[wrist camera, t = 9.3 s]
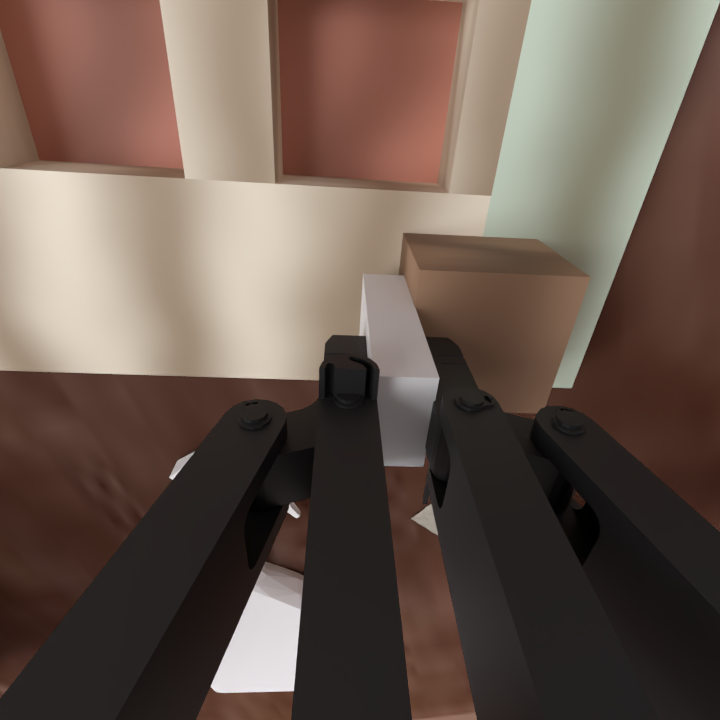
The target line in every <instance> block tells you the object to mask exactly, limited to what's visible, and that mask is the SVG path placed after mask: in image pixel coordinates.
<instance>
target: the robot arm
mask: <svg viewBox="0 0 720 720" xmlns="http://www.w3.org/2000/svg"><path fill="white" fill-rule="evenodd" d="M426 453H427V457H428V461H429V469H428V474H427V479H426V485H425V490H424V495H423V504H427V503H428V498H429V495H430V499H431V504H432V509H433V514H434V518H435V523H436V528H437V532H438V537H439V542H440V547H441V551H442V556H443V561H444V565H445V570H446V575H447V580H448V584H449V589H450V594H451V598H452V603H453V608H454V613H455V617H456V622H457V627H458V631H459V636H460V641H461V646H462V650H463V655H464V660H465V664H466V669H467V674H468V679H469V683H470V688H471V693H472V697H473V702H474V707H475V712H476V716H477V720H720V532H719V531H718V530H717V529H716V528H714V527H713V526H712V525H711V524H710V523H709V522H708V521H707V520H705V519H704V518H703V517H702V516H701V515H700V514H699V513H697V512H696V511H695V510H694V509H693V508H692V507H691V506H690V505H688V504H687V503H686V502H685V501H684V500H683V499H682V498H680V497H679V496H678V495H677V494H676V493H675V492H674V491H672V490H671V489H670V488H669V487H668V486H667V485H666V484H665V483H663V482H662V481H661V480H660V479H659V478H658V477H657V476H655V475H654V474H653V473H652V472H651V471H650V470H649V469H648V468H646V467H645V466H644V465H643V464H642V463H641V462H640V461H638V460H637V459H636V458H635V457H634V456H633V455H632V454H631V453H629V452H628V451H627V450H626V449H625V448H624V447H623V446H621V445H620V444H619V443H618V442H617V441H616V440H615V439H613V438H612V437H611V436H610V435H609V434H608V433H607V432H606V431H604V430H603V429H602V428H601V427H600V426H599V425H598V424H596V423H595V422H594V421H593V420H592V419H590V418H589V417H587V416H586V415H584V414H583V413H581V412H578V411H576V410H574V409H571V408H568V407H567V408H566V407H562V406H547V407H544V408H541V409H540V410H539V411H538V413H537V414H536V417H535V420H533V419H528V418H524V417H520V416H515V415H512V414H508V413H505V412H503V410H502V408H501V406H500V404H499V403H498V401H497V400H496V399H495V398H494V397H493V396H492V395H490V394H489V393H487V392H485V391H483V390H480V389H479V388H478V386H477V384H476V382H475V380H474V378H473V376H472V373H471V371H470V369H469V367H468V366H467V363H466V360H465V358H463V354H462V352H461V350H460V348H459V346H458V345H457V344H455V343H454V342H453V341H452V340H451V339H449V338H444V337H425V334H424V331H423V328H422V326H421V323H420V320H419V317H418V314H417V311H416V308H415V306H414V303H413V301H412V298H411V295H410V292H409V289H408V286H407V283H406V280H405V277H404V275H384V274H363V283H362V299H361V315H360V332H359V336H353V335H332V336H331V337H330V338H329V339H328V340H327V342H326V343H325V351H324V361H323V362H322V363H321V365H320V367H319V398H318V399H317V401H316V402H314V403H313V404H312V405H310V406H308V407H306V408H304V409H301V410H297V411H293V412H288V413H285V411H284V409H283V408H282V407H281V406H280V405H278V404H277V403H275V402H271V401H268V400H256V399H255V400H250V401H244V402H241V403H239V404H237V405H235V406H233V407H232V408H230V409H229V410H228V411H227V412H226V413H225V414H224V415H223V417H222V418H221V419H220V420H219V422H218V423H217V424H216V426H215V427H214V428H213V429H212V431H211V432H210V433H209V434H208V436H207V437H206V438H205V439H204V441H203V442H202V443H201V445H200V446H199V447H198V448H197V450H196V451H195V452H194V453H193V455H192V456H191V457H190V459H189V460H188V461H187V462H186V464H185V465H184V466H183V467H182V469H181V470H180V471H179V472H178V474H177V475H176V476H175V478H174V479H173V480H172V481H171V483H170V484H169V485H168V486H167V488H166V489H165V490H164V492H163V493H162V494H161V495H160V497H159V498H158V499H157V500H156V502H155V503H154V504H153V506H152V507H151V508H150V509H149V511H148V512H147V513H146V514H145V516H144V517H143V518H142V519H141V521H140V522H139V523H138V525H137V526H136V527H135V528H134V530H133V531H132V532H131V533H130V535H129V536H128V537H127V539H126V540H125V541H124V542H123V544H122V545H121V546H120V547H119V549H118V550H117V551H116V552H115V554H114V555H113V556H112V558H111V559H110V560H109V561H108V563H107V564H106V565H105V566H104V568H103V569H102V570H101V572H100V573H99V574H98V575H97V577H96V578H95V579H94V580H93V582H92V583H91V584H90V586H89V587H88V588H87V589H86V591H85V592H84V593H83V594H82V596H81V597H80V598H79V599H78V601H77V602H76V603H75V605H74V606H73V607H72V608H71V610H70V611H69V612H68V613H67V615H66V616H65V617H64V619H63V620H62V621H61V622H60V624H59V625H58V626H57V627H56V629H55V630H54V631H53V632H52V634H51V635H50V636H49V638H48V639H47V640H46V641H45V643H44V644H43V645H42V646H41V648H40V649H39V650H38V652H37V653H36V654H35V655H34V657H33V658H32V659H31V660H30V662H29V663H28V664H27V666H26V667H25V668H24V669H23V671H22V672H21V673H20V674H19V676H18V677H17V678H16V679H15V681H14V682H13V683H12V685H11V686H10V687H9V688H8V690H7V691H6V692H5V693H4V695H3V696H2V697H1V699H0V720H196V718H197V716H198V714H199V711H200V709H201V707H202V705H203V702H204V700H205V698H206V696H207V693H208V691H209V689H210V686H211V684H212V682H213V680H214V677H215V675H216V673H217V671H218V668H219V666H220V664H221V661H222V659H223V657H224V655H225V652H226V650H227V648H228V646H229V643H230V641H231V639H232V636H233V634H234V632H235V630H236V627H237V625H238V623H239V621H240V618H241V616H242V614H243V611H244V609H245V607H246V605H247V602H248V600H249V598H250V596H251V593H252V591H253V589H254V586H255V584H256V582H257V580H258V577H259V575H260V573H261V571H262V568H263V566H264V564H265V561H266V559H267V557H268V555H269V552H270V550H271V548H272V546H273V543H274V541H275V539H276V536H277V534H278V532H279V530H280V527H281V525H282V523H283V521H284V518H285V516H286V514H287V511H288V509H289V504H290V503H292V502H296V501H299V500H303V499H307V498H310V509H309V520H308V532H307V544H306V555H305V567H304V579H303V590H302V602H301V613H300V625H299V637H298V648H297V660H296V672H295V683H294V695H293V707H292V718H291V720H412V716H411V707H410V698H409V689H408V679H407V670H406V661H405V652H404V643H403V634H402V624H401V615H400V606H399V597H398V588H397V579H396V570H395V560H394V551H393V542H392V533H391V524H390V515H389V505H388V496H387V487H386V478H385V469H384V466H410V467H423V466H424V460H425V455H426ZM576 491H577V492H578V493H579V494H580V495H581V497H582V498H583V499H584V500H585V501H586V503H585V505H584V506H583V507H581V506H580V505H579V504H578V503H576V501H575V500H574V499H573V496H574V494H575V492H576Z"/></svg>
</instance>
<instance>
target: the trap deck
mask: <svg viewBox="0 0 720 720" xmlns="http://www.w3.org/2000/svg"><path fill="white" fill-rule="evenodd" d="M719 3H720V0H0V370H4V371H36V372H68V373H100V374H132V375H165V376H197V377H229V378H261V379H293V380H319V367H320V365H321V363H322V362H323V361H324V351H325V343H326V342H327V340H328V339H329V338H330V337H331V336H332V335H353V336H359V332H360V315H361V299H362V283H363V274H384V275H399V267H400V257H401V248H402V239H403V233H417V234H438V235H459V236H481V237H502V238H523V239H538V240H539V241H541V242H542V243H543V244H545V245H546V246H548V247H549V248H550V249H552V250H553V251H555V252H556V253H557V254H559V255H560V256H562V257H563V258H564V259H566V260H567V261H569V262H570V263H572V264H573V265H574V266H576V267H577V268H579V269H580V270H581V271H583V272H584V273H586V274H587V275H588V276H590V277H591V278H590V281H589V284H588V287H587V290H586V292H585V295H584V298H583V301H582V304H581V307H580V310H579V312H578V315H577V318H576V321H575V324H574V327H573V330H572V332H571V335H570V338H569V341H568V344H567V347H566V350H565V352H564V355H563V358H562V361H561V364H560V367H559V369H558V372H557V375H556V378H555V381H554V384H553V387H552V388H572V386H573V383H574V381H575V378H576V376H577V373H578V370H579V368H580V365H581V363H582V360H583V357H584V355H585V352H586V350H587V347H588V344H589V342H590V339H591V336H592V334H593V331H594V329H595V326H596V323H597V321H598V318H599V316H600V313H601V310H602V308H603V305H604V303H605V300H606V297H607V295H608V292H609V290H610V287H611V284H612V282H613V279H614V277H615V274H616V271H617V269H618V266H619V264H620V261H621V258H622V256H623V253H624V251H625V248H626V245H627V243H628V240H629V237H630V235H631V232H632V230H633V227H634V224H635V222H636V219H637V217H638V214H639V211H640V209H641V206H642V204H643V201H644V198H645V196H646V193H647V191H648V188H649V185H650V183H651V180H652V178H653V175H654V172H655V170H656V167H657V165H658V162H659V159H660V157H661V154H662V152H663V149H664V146H665V144H666V141H667V139H668V136H669V133H670V131H671V128H672V125H673V123H674V120H675V118H676V115H677V112H678V110H679V107H680V105H681V102H682V99H683V97H684V94H685V92H686V89H687V86H688V84H689V81H690V79H691V76H692V73H693V71H694V68H695V66H696V63H697V60H698V58H699V55H700V53H701V50H702V47H703V45H704V42H705V40H706V37H707V34H708V32H709V29H710V27H711V24H712V21H713V19H714V16H715V13H716V11H717V8H718V6H719Z"/></svg>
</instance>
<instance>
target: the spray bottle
mask: <svg viewBox="0 0 720 720" xmlns="http://www.w3.org/2000/svg"><path fill="white" fill-rule="evenodd" d="M193 453H194V452H193ZM193 453H191V454H189V455H187V456H185V457H183V458H181V459H179V460H177V462H176V464H175V467H174V469H173V471H172V473H171V475H170V479H172V480H173V479H174V478H175V476H176V475H177V474H178V472H179V471H180V470H181V469H182V467H183V466H184V465H185V464H186V462H187V461H188V460H189V459H190V457H191V456H192V455H193ZM287 512H288V513H289V514H291V515H292V516H294V517H295V518H298V517H300V512H301V511H300V510H299V509H298V507H297V506H296V505H295V503H294V502H292V503H290V504H289V509H288V511H287ZM303 579H304V576H303V575H301V574H299V573H297V572H294V571H292V570H289V569H286V568H283V567H280V566H277V565H274V564H272V563H269V562H266V561H265V564H264V566H263V568H262V571H261V573H260V575H259V577H258V580H257V582H256V584H255V586H254V589H253V591H252V593H251V596H250V598H249V600H248V602H247V605H246V607H245V609H244V611H243V614H242V616H241V618H240V621H239V623H238V625H237V627H236V630H235V632H234V634H233V636H232V639H231V641H230V643H229V646H228V648H227V650H226V652H225V655H224V657H223V659H222V661H221V664H220V666H219V668H218V671H217V673H216V675H215V677H214V680H213V682H212V684H211V687H212V689H213V690H214V691H215V692H220V693H237V692H277V691H294V683H295V672H296V660H297V648H298V637H299V625H300V613H301V602H302V590H303Z"/></svg>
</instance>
